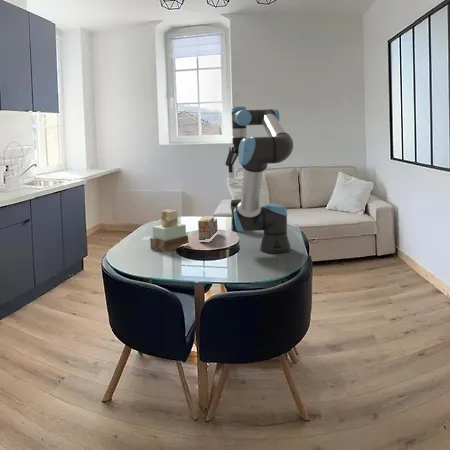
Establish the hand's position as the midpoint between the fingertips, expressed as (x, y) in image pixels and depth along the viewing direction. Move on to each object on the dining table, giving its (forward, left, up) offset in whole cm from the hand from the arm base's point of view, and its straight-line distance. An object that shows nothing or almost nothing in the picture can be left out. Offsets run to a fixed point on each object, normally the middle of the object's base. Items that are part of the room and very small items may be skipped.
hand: (240, 177), depth 266 cm
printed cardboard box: (+20, +6, -35) cm, 41 cm away
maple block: (+22, +33, -23) cm, 45 cm away
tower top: (+22, +33, -29) cm, 49 cm away
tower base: (+22, +33, -35) cm, 53 cm away
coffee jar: (+19, -19, -35) cm, 44 cm away
